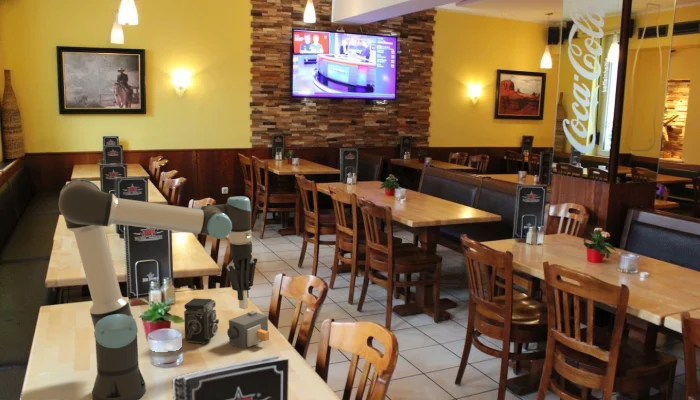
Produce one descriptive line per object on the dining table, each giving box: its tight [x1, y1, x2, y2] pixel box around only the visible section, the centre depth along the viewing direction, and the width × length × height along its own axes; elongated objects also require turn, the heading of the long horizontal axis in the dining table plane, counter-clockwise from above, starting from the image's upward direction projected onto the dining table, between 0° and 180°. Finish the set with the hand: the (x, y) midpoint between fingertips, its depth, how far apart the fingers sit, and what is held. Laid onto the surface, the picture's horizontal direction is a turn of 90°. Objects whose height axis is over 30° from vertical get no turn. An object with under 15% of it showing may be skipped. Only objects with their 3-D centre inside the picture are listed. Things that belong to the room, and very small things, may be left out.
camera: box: [183, 297, 220, 344], centre depth 221 cm, size 10×10×15 cm
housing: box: [226, 310, 269, 350], centre depth 220 cm, size 14×8×10 cm, turn 144°
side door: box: [247, 324, 270, 348], centre depth 215 cm, size 6×5×6 cm
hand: (243, 308), depth 206 cm, fingers closed
